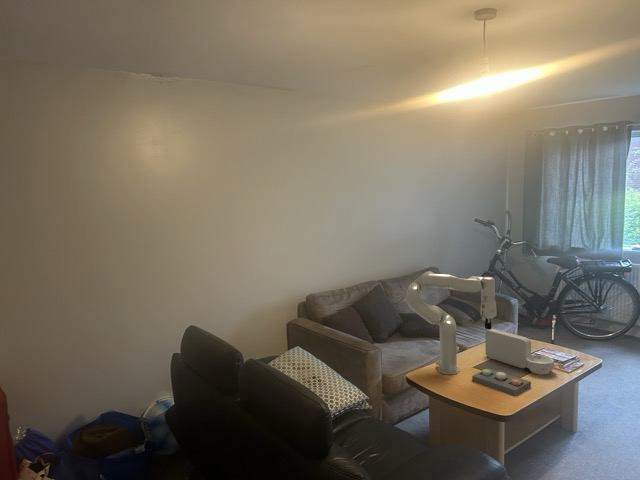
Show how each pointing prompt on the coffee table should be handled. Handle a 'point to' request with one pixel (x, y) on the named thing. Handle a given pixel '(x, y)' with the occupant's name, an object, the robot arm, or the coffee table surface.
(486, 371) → the sage button
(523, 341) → the rounded white slab
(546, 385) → the coffee table surface
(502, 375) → the cream button
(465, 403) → the coffee table surface
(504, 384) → the console
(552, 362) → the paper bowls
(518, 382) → the terracotta button
